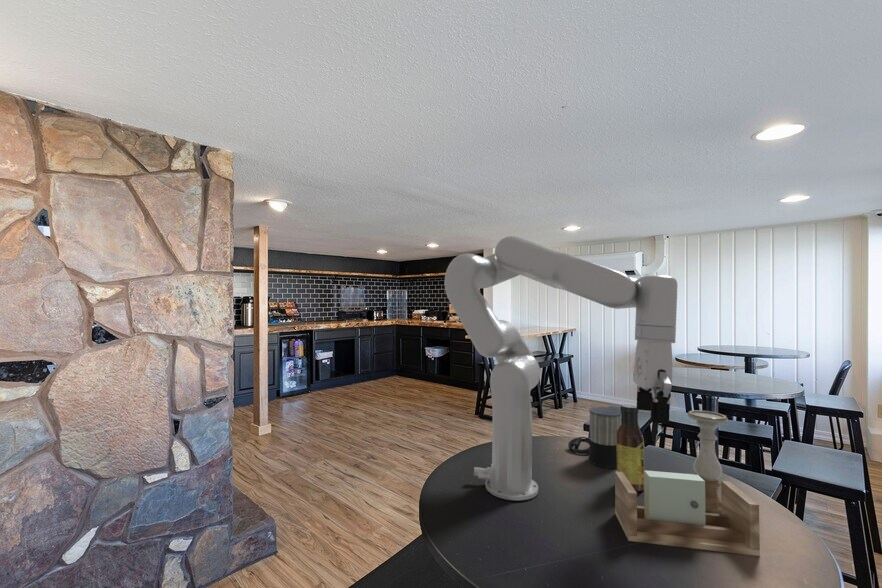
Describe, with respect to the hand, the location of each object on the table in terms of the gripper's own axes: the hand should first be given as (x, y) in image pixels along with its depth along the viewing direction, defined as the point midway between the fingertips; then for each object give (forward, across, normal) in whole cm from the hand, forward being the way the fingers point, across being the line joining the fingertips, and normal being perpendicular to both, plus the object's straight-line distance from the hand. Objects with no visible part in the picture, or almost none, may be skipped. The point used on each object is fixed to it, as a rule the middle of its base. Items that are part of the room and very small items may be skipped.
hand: (651, 416), depth 82 cm
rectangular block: (+21, +3, +4) cm, 21 cm away
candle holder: (+22, -11, +16) cm, 29 cm away
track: (+22, +3, +5) cm, 22 cm away
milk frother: (+23, -35, -5) cm, 42 cm away
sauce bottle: (+22, -16, +1) cm, 27 cm away
